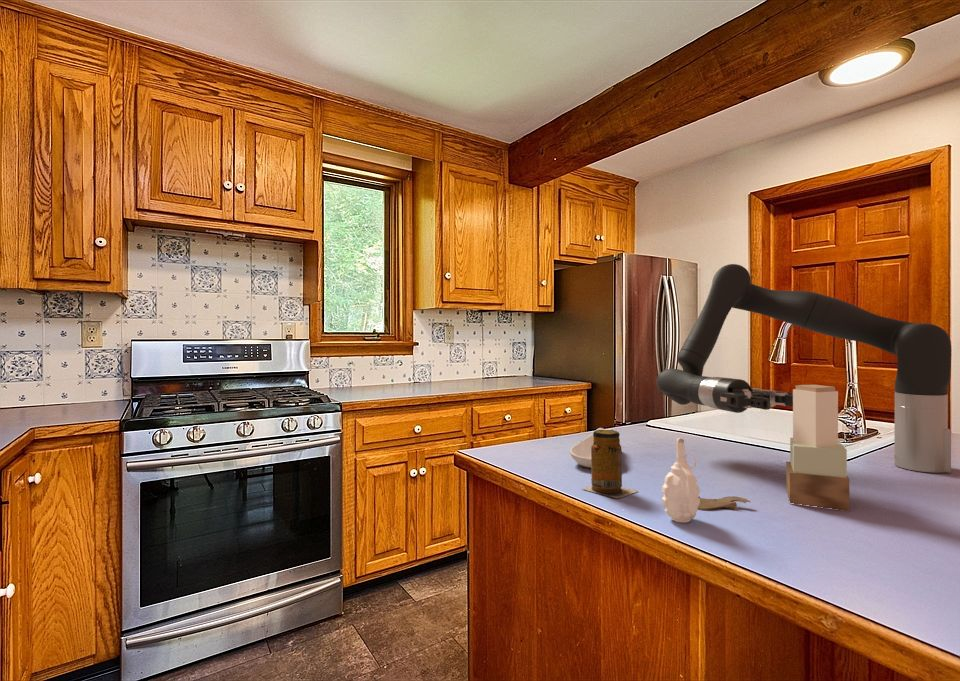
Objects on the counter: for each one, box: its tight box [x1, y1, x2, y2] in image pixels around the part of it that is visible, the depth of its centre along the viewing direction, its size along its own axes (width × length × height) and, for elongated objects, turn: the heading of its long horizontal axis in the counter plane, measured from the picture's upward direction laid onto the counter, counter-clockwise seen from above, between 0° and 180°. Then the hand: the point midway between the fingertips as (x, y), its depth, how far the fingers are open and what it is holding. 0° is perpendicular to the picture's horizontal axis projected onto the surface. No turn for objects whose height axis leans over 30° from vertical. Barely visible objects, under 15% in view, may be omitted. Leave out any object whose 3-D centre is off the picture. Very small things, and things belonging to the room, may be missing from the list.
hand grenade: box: [661, 437, 701, 524], centre depth 86 cm, size 8×6×14 cm
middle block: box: [789, 437, 848, 478], centre depth 95 cm, size 8×8×5 cm
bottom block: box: [785, 461, 850, 512], centre depth 96 cm, size 9×9×6 cm
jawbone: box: [697, 495, 751, 511], centre depth 99 cm, size 9×20×2 cm, turn 23°
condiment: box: [582, 429, 638, 499], centre depth 103 cm, size 7×8×12 cm
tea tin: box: [792, 384, 839, 447], centre depth 95 cm, size 5×5×11 cm
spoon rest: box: [569, 427, 613, 469], centre depth 128 cm, size 24×12×7 cm, turn 155°
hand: (785, 403), depth 101 cm, fingers open, 8 cm apart
